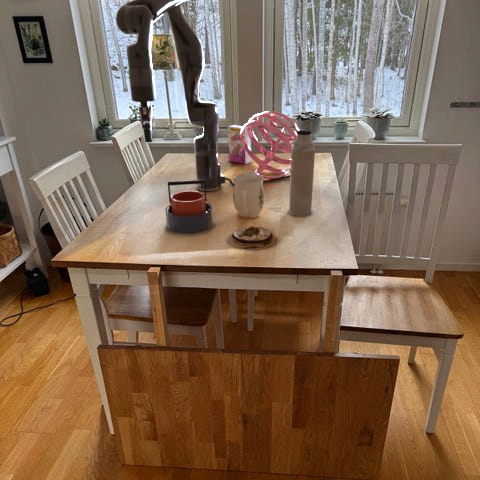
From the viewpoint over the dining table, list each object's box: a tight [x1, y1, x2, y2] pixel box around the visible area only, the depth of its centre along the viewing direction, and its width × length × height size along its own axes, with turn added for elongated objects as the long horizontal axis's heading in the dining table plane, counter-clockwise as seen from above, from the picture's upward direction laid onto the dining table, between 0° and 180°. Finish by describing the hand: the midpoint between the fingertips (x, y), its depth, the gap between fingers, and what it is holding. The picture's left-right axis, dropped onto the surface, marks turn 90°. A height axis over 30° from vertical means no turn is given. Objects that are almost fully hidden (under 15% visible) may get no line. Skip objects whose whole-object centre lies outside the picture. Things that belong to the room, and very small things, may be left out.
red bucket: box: [167, 179, 208, 216], centre depth 157 cm, size 11×12×15 cm
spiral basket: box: [240, 110, 300, 180], centre depth 204 cm, size 28×28×27 cm
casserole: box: [164, 202, 214, 235], centre depth 159 cm, size 16×16×6 cm
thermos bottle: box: [288, 129, 316, 217], centre depth 163 cm, size 8×8×28 cm
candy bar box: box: [227, 124, 252, 165], centre depth 229 cm, size 11×5×16 cm, turn 49°
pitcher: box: [232, 170, 265, 219], centre depth 165 cm, size 11×18×14 cm, turn 170°
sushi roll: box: [231, 225, 277, 251], centre depth 149 cm, size 15×15×4 cm
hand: (148, 139), depth 153 cm, fingers open, 8 cm apart
